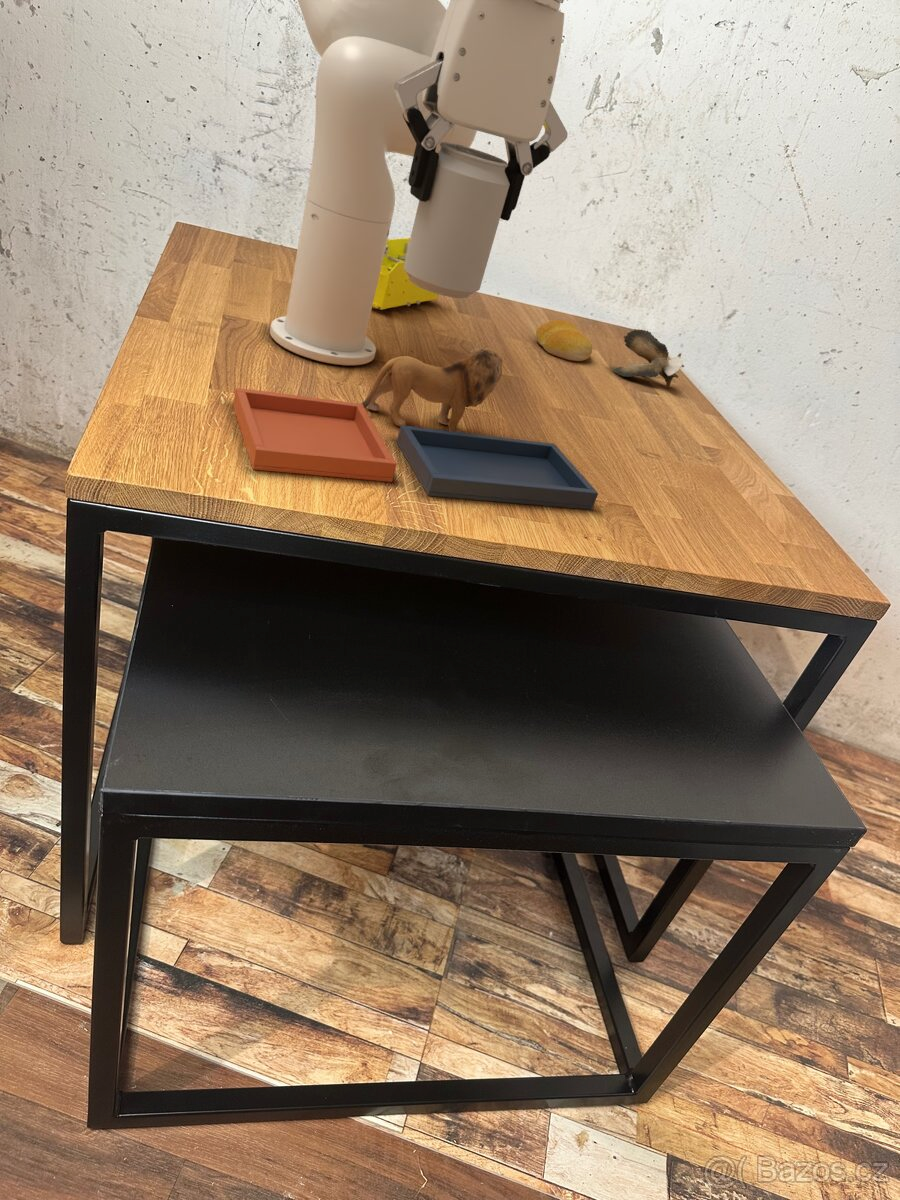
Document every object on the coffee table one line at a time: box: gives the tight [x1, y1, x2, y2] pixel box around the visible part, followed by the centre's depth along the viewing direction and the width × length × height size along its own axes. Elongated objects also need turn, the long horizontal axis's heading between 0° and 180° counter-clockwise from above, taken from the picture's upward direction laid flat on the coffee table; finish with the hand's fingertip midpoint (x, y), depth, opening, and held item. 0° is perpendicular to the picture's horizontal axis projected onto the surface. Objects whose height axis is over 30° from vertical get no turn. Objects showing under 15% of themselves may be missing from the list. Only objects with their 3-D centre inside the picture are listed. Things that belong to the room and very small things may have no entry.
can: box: [403, 142, 510, 299], centre depth 79 cm, size 8×8×12 cm
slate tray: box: [396, 425, 599, 511], centre depth 85 cm, size 11×18×2 cm, turn 109°
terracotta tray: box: [232, 387, 397, 483], centre depth 80 cm, size 13×13×2 cm
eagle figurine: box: [612, 328, 685, 389], centre depth 128 cm, size 8×7×9 cm
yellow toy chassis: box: [372, 237, 440, 311], centre depth 125 cm, size 16×6×8 cm, turn 150°
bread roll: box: [535, 319, 593, 362], centre depth 129 cm, size 8×9×4 cm
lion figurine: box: [360, 346, 504, 432], centre depth 90 cm, size 15×5×9 cm, turn 110°
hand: (460, 205), depth 78 cm, fingers closed on can, 7 cm apart
